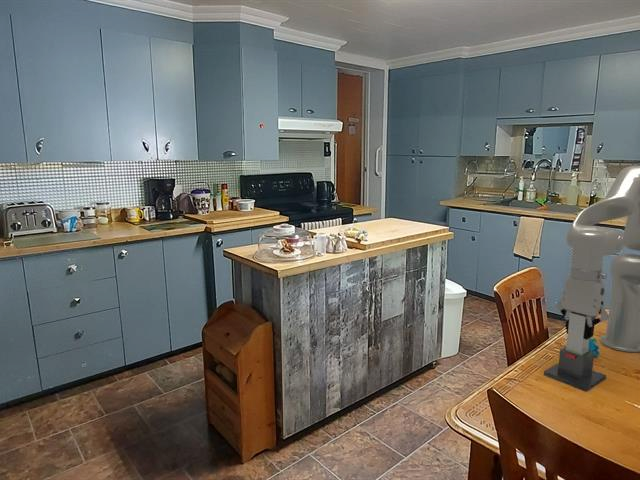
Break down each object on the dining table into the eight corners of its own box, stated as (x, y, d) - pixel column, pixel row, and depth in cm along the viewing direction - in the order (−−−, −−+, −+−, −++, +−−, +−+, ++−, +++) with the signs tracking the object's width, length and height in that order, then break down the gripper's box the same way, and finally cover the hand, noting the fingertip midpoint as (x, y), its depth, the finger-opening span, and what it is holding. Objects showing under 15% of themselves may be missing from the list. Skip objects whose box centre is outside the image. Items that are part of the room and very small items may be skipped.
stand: (563, 363, 138) (565, 339, 136) (605, 378, 128) (608, 352, 127) (543, 374, 131) (545, 349, 129) (586, 391, 121) (589, 364, 120)
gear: (590, 357, 139) (571, 328, 144) (574, 364, 143) (557, 336, 148) (608, 353, 144) (590, 325, 150) (593, 360, 148) (575, 333, 154)
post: (572, 354, 132) (576, 309, 129) (587, 359, 128) (592, 313, 126) (564, 358, 129) (569, 312, 126) (580, 363, 126) (585, 317, 123)
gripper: (624, 278, 119) (616, 341, 123) (561, 266, 133) (555, 323, 136) (612, 283, 115) (605, 348, 118) (548, 270, 128) (543, 329, 132)
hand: (578, 334), depth 127 cm, fingers closed on post, 4 cm apart
